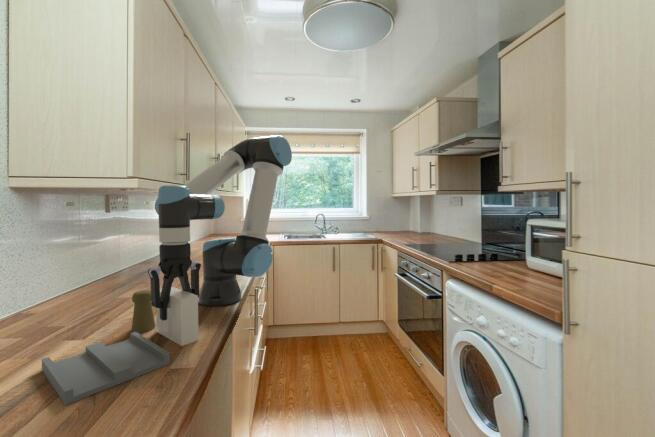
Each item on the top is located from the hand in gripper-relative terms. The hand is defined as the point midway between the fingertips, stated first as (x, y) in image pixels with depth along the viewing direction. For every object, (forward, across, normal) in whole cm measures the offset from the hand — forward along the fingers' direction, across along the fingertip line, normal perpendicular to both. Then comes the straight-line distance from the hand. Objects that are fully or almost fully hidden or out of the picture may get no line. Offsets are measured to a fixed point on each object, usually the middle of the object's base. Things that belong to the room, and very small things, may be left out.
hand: (177, 327), depth 85 cm
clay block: (+2, 0, 0) cm, 2 cm away
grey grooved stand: (+2, +18, +4) cm, 18 cm away
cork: (+2, +4, -13) cm, 14 cm away
